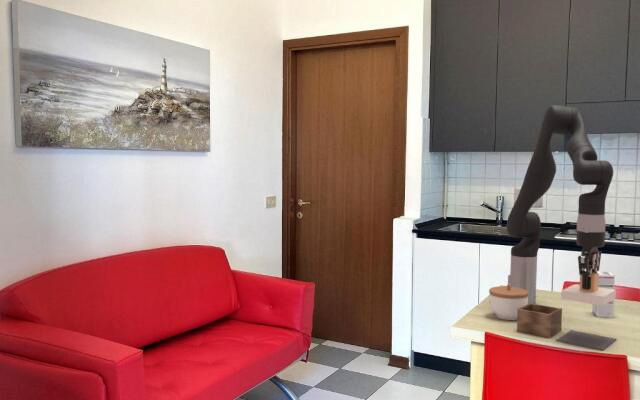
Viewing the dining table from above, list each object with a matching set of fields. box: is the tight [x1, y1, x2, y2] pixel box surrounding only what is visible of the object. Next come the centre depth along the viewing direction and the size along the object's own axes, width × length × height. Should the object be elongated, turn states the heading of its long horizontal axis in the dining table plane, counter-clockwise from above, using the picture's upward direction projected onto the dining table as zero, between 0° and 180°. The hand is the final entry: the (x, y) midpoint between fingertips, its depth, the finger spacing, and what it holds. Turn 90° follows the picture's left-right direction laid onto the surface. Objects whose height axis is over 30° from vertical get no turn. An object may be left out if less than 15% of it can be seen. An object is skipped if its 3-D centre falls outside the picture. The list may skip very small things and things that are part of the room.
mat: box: [555, 329, 617, 351], centre depth 178 cm, size 13×13×1 cm
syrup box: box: [591, 271, 616, 318], centre depth 206 cm, size 6×6×14 cm
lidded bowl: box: [488, 283, 529, 321], centre depth 203 cm, size 13×13×11 cm
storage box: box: [516, 303, 563, 339], centre depth 187 cm, size 10×10×7 cm
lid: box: [560, 272, 617, 306], centre depth 177 cm, size 12×12×8 cm
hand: (588, 287), depth 177 cm, fingers closed on lid, 4 cm apart
